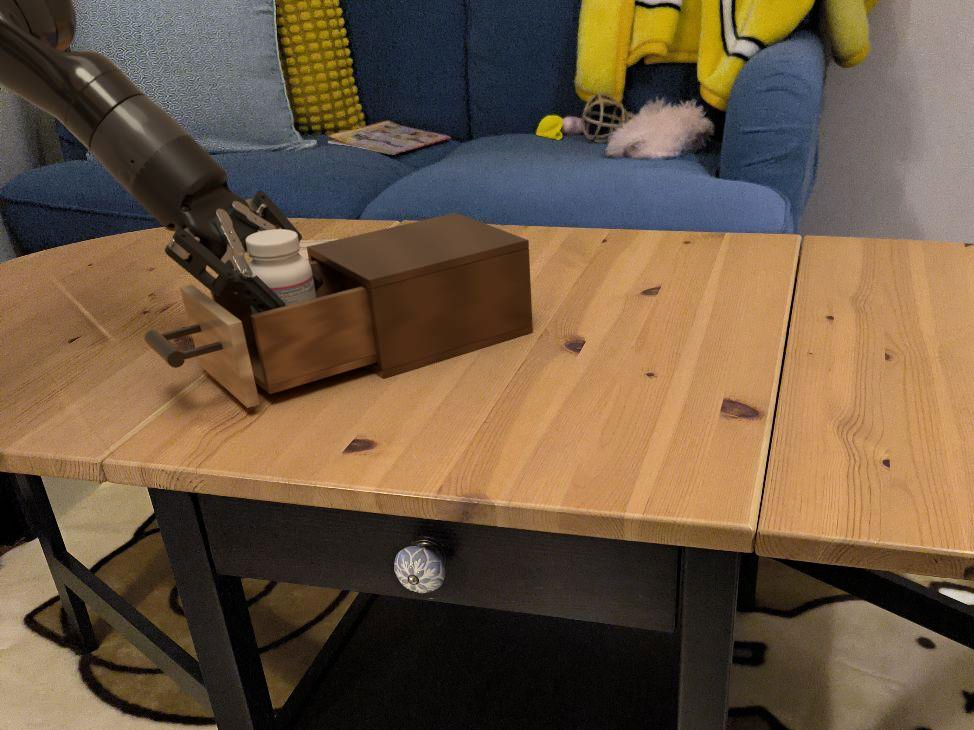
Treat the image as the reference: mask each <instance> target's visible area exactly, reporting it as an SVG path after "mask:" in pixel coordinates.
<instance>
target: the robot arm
mask: <svg viewBox="0 0 974 730" xmlns="http://www.w3.org/2000/svg"><path fill="white" fill-rule="evenodd" d="M76 33H77V14H76V9H75V4H74V1H73V0H0V86H2V87H4V88H5V89H7V90H9V91H10V92H12V93H13V94H15V95H17V96H18V97H20V98H22V99H23V100H25V101H26V102H28V103H30V104H31V105H32V106H34V107H36V108H38V109H39V110H41V111H43V112H44V113H47V114H48V115H50V116H52V117H54V118H55V119H56V120H58V121H59V122H60V123H61V124H62V125H63V126H64V127H65V128H66V129H67V130H68V131H69V132H70V133H71V134H72V135H73V136H74V137H75V138H76V139H77V140H78V142H80V143H81V144H82V145H83V146H84V147H85V148H86V149H87V150H88V151H89V152H90V153H91V154H93V156H94V157H95V158H96V159H97V160H98V161H99V162H100V163H101V165H102V167H103V168H104V169H105V170H106V171H107V172H108V173H109V175H110V176H111V177H112V178H113V179H114V180H115V181H116V182H117V183H118V184H119V185H120V186H121V187H122V188H123V189H125V191H126V192H127V193H128V194H129V195H131V196H132V197H133V199H135V201H136V202H138V203H139V204H140V205H141V206H142V207H143V208H144V209H145V210H146V211H147V212H148V213H149V214H150V215H151V216H152V217H153V218H154V219H155V220H156V221H157V222H158V223H159V224H160V225H161V226H163V227H164V228H165V230H167V231H169V232H173V234H172V236H171V238H170V240H168V243H167V244H166V246H165V247H164V253H165V254H166V255H167V256H168V257H169V258H171V259H172V260H173V261H174V262H175V263H176V264H178V265H179V266H180V267H181V268H183V270H185V271H186V272H187V273H189V274H190V275H191V276H192V277H193V278H194V279H196V280H197V281H198V282H199V283H200V284H201V285H203V286H204V287H205V288H207V289H208V290H209V291H210V292H211V291H212V292H213V293H214V294H215V295H218V296H222V295H223V294H224V293H225V292H232V293H234V294H240V295H241V296H242V297H243V298H244V299H245V300H246V301H247V302H248V303H249V304H250V305H251V306H253V308H254V309H255V310H256V311H257V312H258V313H261V312H264V311H268V310H272V309H276V308H280V307H284V306H286V305H285V303H284V302H283V301H282V300H281V299H280V298H279V297H278V296H277V295H276V294H275V293H274V292H273V291H272V290H271V289H270V288H269V287H268V286H267V285H266V284H265V283H264V282H263V281H262V280H261V279H260V278H259V277H258V276H257V275H256V276H255V277H253V278H252V275H253V273H252V271H251V269H250V267H249V265H248V264H249V263H248V261H247V259H246V258H245V254H246V253H247V254H248V252H247V246H246V238H247V237H248V236H249V235H251V234H254V233H257V232H260V231H266V230H274V229H285V230H291V231H294V232H296V233H297V235H298V240H299V242H300V241H301V240H303V235H302V234H301V233H300V231H299V230H298V229H297V227H295V225H293V223H292V222H291V221H290V219H288V217H287V215H285V214H284V213H283V211H281V209H280V208H279V207H278V206H277V205H276V203H275V202H274V201H273V200H272V199H271V198H270V196H268V194H267V193H265V191H262V190H257V191H256V192H255V194H254V196H253V197H252V198H247V199H245V198H243V197H241V196H240V195H238V194H237V193H235V192H233V191H232V190H231V189H230V187H229V184H228V181H227V180H228V174H227V172H226V170H225V169H224V168H223V167H222V166H221V165H220V163H218V162H217V161H216V159H214V158H213V156H212V155H210V154H209V152H207V150H205V148H203V147H202V146H201V145H200V144H199V142H197V141H196V139H195V138H194V137H192V136H191V134H189V133H188V132H187V131H186V130H185V129H184V128H183V127H182V126H181V125H180V124H179V123H178V121H176V119H174V118H173V117H172V116H171V115H170V113H168V112H167V111H166V110H165V109H163V108H162V107H161V106H159V105H158V104H157V103H155V102H154V101H153V100H151V99H150V97H148V96H147V94H146V93H144V92H143V91H142V90H141V89H140V88H139V87H138V86H137V85H136V84H135V83H134V82H133V81H132V79H130V78H129V77H128V76H127V75H126V73H124V72H123V70H121V69H120V68H119V66H117V65H116V64H115V63H114V61H112V60H110V58H108V57H107V56H106V55H104V54H102V53H100V52H97V51H94V50H79V51H78V50H76V51H66V49H68V48H69V47H70V46H71V45H72V43H73V42H74V40H75V37H76ZM298 255H299V256H301V255H300V254H299V253H298ZM301 257H302V256H301ZM207 267H209V268H210V269H211V270H212V271H213V272H214V273H215V274H216V275H217V276H216V277H214V276H213V275H212V273H210V272H209V271H208V270H207ZM311 269H312V274H313V280H314V286H315V292H317V291H318V289H319V288H320V287H321V286H322V284H323V279H322V278H321V277H320V275H319V274H318V272H317V271H316V270H315V269H313V267H312V266H311Z"/></svg>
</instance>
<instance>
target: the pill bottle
mask: <svg viewBox="0 0 974 730" xmlns="http://www.w3.org/2000/svg"><path fill="white" fill-rule="evenodd" d="M246 246H247V252H248V253H247V252H246V253H247V254H248V257H249V258H250V259H252V260H251V261H250V262H249V263H248V265H249V267H250V269H251V271H252V273H253V275H252V278H253V277H255V276H256V275H257V276H258V277H259V278H260V279H261V280H262V281H263V282H264V283H265V284H266V285H267V286H268V287H269V288H270V289H271V290H272V291H273V292H274V293H275V294H276V295H277V296H278V297H279V298H280V299H281V300H282V301H283V302H284V303H285V305H286V306H288V305H292V304H296V303H300V302H303V301H307V300H311V299H315V298H316V292H315V286H314V280H313V274H312V269H311V266H310V264H309V262H308V261H307V260H306V259H305V258H303V257H301V256H299V255H298V253H299V251H300V249H299V248H300V244H299V240H298V235H297V233H296V232H294V231H291V230H285V229H281V228H280V229H274V230H266V231H258V232H257V233H254V234H251V235H249V236H248V237H247V238H246ZM251 310H252V315H253V314H257V313H258V312H257V311H256V310H255V309H254V308H253V306H251Z"/></svg>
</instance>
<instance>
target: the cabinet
mask: <svg viewBox="0 0 974 730" xmlns="http://www.w3.org/2000/svg"><path fill="white" fill-rule="evenodd" d="M337 239H338V240H334V241H330V242H325V243H321V244H316V245H312V246H308V247H307V252H308V258H309V262H311V261H315V260H319V261H321V262H323V263H325V264H327V265H328V266H330V267H332V268H334V269H336V270H338V271H339V272H341V273H343V274H345V275H347V276H349V277H350V278H352V279H354V280H356V281H358V282H360V283H361V284H363V285H365V286H367V290H368V297H369V304H370V311H371V318H372V325H373V332H374V339H375V346H376V353H377V360H378V362H376V363H372V364H369V365H366V366H364V367H366V368H367V369H368V370H370V371H371V372H373V373H374V374H376V375H377V376H379V377H380V378H382V379H386V378H390V377H393V376H396V375H400V374H403V373H406V372H410V371H412V370H415V369H418V368H419V369H420V368H422V367H426V366H429V365H432V364H435V363H438V362H441V361H442V362H443V361H444V360H448V359H451V358H454V357H458V356H461V355H464V354H467V353H470V352H474V351H477V350H480V349H484V348H487V347H490V346H494V345H496V344H497V345H498V344H500V343H503V342H506V341H509V340H512V339H515V338H518V337H522V336H526V335H529V334H532V333H533V332H534V326H533V305H532V304H533V303H532V285H531V283H532V282H531V262H530V259H531V258H530V241H529V239H526V238H525V237H521V236H520V235H516V234H513V233H511V232H508V231H505V230H503V229H501V228H497V227H496V226H492V225H490V224H487V223H485V222H482V221H480V220H477V219H475V218H471V217H469V216H466V215H463V214H461V213H458V212H452V213H449V214H444V215H440V216H436V217H431V218H426V219H422V220H417V221H413V222H409V223H404V224H399V225H396V226H391V227H386V228H383V229H378V230H374V231H370V232H365V233H360V234H356V235H353V236H352V235H351V236H347V237H343V238H337Z"/></svg>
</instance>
